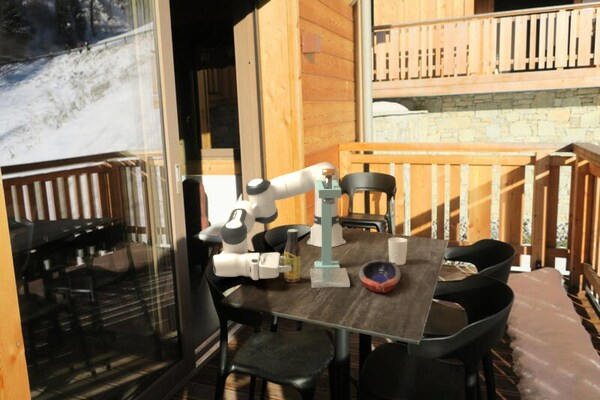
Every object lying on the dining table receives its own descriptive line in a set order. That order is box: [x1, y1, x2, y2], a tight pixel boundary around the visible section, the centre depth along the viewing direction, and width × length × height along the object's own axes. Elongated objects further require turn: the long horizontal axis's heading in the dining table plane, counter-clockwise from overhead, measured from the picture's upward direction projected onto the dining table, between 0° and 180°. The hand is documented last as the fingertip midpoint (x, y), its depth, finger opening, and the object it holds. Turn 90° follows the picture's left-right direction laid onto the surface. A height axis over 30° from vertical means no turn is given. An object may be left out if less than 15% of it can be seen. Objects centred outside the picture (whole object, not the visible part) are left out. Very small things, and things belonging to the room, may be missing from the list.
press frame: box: [313, 180, 342, 269], centre depth 194 cm, size 27×10×36 cm, turn 0°
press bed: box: [309, 267, 351, 289], centre depth 191 cm, size 16×14×2 cm
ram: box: [322, 168, 337, 204], centre depth 184 cm, size 5×5×12 cm
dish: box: [358, 259, 402, 294], centre depth 188 cm, size 16×31×5 cm, turn 168°
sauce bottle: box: [283, 228, 302, 284], centre depth 189 cm, size 6×6×20 cm
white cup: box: [387, 236, 408, 266], centre depth 210 cm, size 8×8×10 cm
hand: (291, 263), depth 189 cm, fingers open, 8 cm apart
